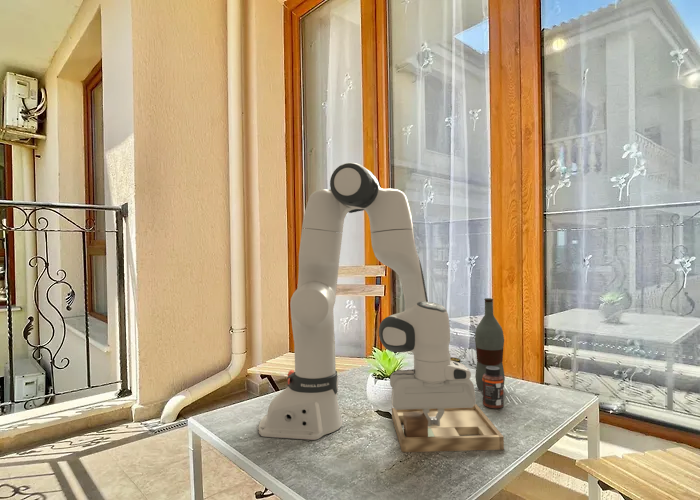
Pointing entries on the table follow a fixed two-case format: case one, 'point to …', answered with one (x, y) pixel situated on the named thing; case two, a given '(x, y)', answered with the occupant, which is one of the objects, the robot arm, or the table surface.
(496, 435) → the wooden compartment tray
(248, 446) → the table surface
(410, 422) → the walnut block
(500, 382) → the supplement bottle
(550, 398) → the table surface
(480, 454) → the table surface
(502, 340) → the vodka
